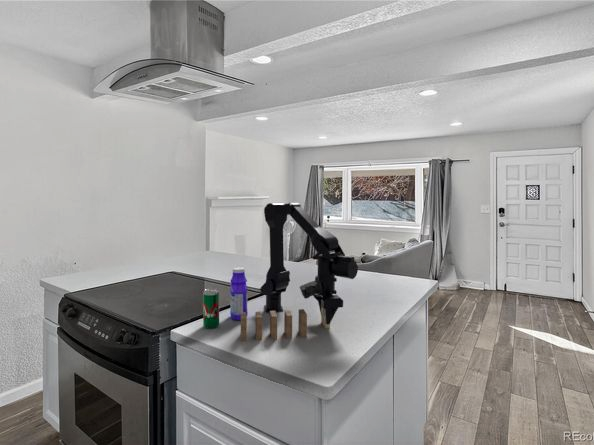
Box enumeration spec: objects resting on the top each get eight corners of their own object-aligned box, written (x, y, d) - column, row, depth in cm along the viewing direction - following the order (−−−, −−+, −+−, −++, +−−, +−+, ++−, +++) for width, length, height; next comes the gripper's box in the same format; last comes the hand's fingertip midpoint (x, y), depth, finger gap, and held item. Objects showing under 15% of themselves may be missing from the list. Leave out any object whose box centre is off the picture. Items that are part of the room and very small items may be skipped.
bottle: (228, 315, 125) (228, 266, 124) (244, 313, 128) (243, 265, 126) (233, 322, 119) (232, 271, 117) (249, 319, 121) (249, 269, 120)
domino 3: (269, 332, 110) (270, 310, 109) (275, 332, 110) (275, 310, 109) (271, 339, 105) (271, 316, 104) (277, 339, 105) (277, 316, 105)
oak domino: (321, 322, 119) (321, 302, 118) (325, 322, 119) (326, 302, 119) (325, 328, 114) (325, 306, 113) (329, 327, 114) (330, 306, 114)
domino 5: (298, 331, 111) (298, 309, 111) (303, 330, 112) (303, 309, 111) (301, 337, 106) (301, 314, 106) (306, 337, 107) (306, 314, 106)
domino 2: (255, 333, 109) (255, 311, 108) (260, 333, 109) (260, 311, 109) (256, 340, 104) (256, 317, 103) (262, 340, 104) (262, 316, 104)
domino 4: (284, 332, 111) (284, 310, 110) (289, 331, 111) (289, 309, 110) (286, 338, 106) (286, 315, 105) (292, 338, 106) (292, 315, 105)
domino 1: (240, 334, 108) (240, 312, 107) (245, 334, 108) (245, 312, 108) (241, 341, 103) (241, 318, 103) (246, 341, 103) (246, 317, 103)
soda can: (220, 323, 117) (220, 288, 116) (217, 329, 112) (217, 292, 111) (205, 323, 117) (204, 288, 116) (201, 329, 112) (201, 292, 111)
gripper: (296, 268, 123) (296, 312, 124) (308, 281, 105) (307, 333, 106) (327, 267, 125) (326, 310, 126) (344, 280, 107) (343, 330, 108)
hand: (325, 320), depth 116 cm, fingers open, 6 cm apart
